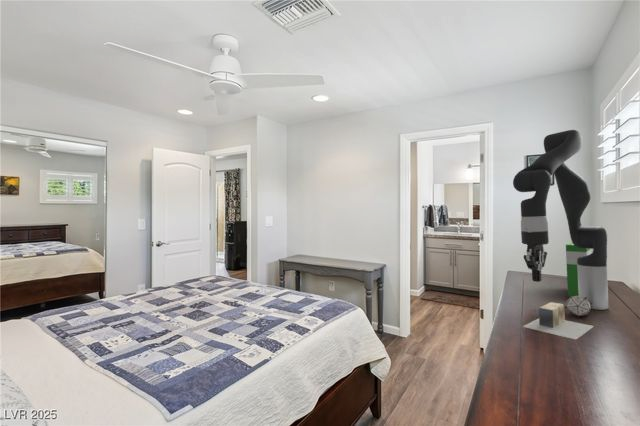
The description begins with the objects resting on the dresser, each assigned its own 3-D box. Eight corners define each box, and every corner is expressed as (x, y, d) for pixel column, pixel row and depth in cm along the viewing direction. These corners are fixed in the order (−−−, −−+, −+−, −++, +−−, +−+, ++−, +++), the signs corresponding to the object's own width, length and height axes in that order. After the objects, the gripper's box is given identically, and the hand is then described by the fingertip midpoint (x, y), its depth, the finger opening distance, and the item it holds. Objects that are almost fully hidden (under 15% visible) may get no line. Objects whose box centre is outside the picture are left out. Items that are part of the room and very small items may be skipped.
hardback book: (574, 288, 158) (571, 241, 159) (593, 291, 153) (591, 242, 153) (568, 295, 146) (565, 244, 146) (588, 298, 141) (586, 245, 141)
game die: (585, 327, 117) (604, 310, 111) (561, 318, 118) (578, 301, 113) (578, 309, 124) (594, 292, 118) (555, 301, 126) (570, 284, 120)
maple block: (539, 324, 110) (551, 318, 116) (552, 328, 107) (564, 320, 113) (538, 307, 110) (551, 302, 116) (552, 310, 107) (564, 304, 113)
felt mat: (543, 316, 119) (543, 315, 119) (594, 327, 107) (594, 326, 107) (522, 327, 109) (522, 326, 109) (576, 340, 97) (575, 339, 97)
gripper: (530, 228, 112) (532, 276, 112) (513, 231, 104) (515, 282, 104) (555, 228, 106) (557, 279, 106) (538, 231, 98) (541, 286, 98)
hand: (536, 281), depth 105 cm, fingers closed
